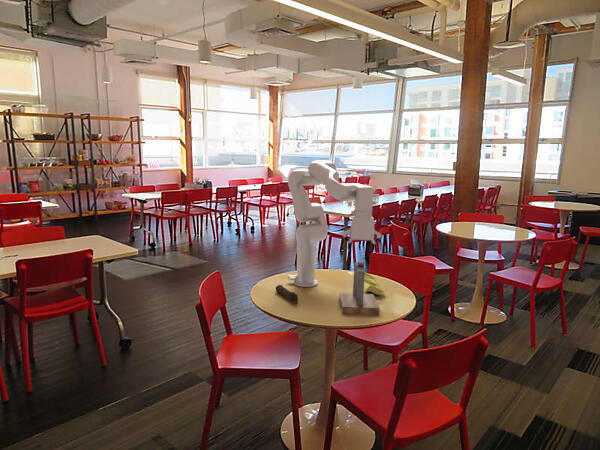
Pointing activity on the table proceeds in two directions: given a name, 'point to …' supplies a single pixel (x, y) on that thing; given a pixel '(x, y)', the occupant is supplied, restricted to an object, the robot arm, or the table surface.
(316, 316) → the table surface
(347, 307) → the brown flat square piece
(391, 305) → the table surface
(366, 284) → the plastic component
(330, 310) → the table surface
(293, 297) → the hand tool
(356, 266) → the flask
